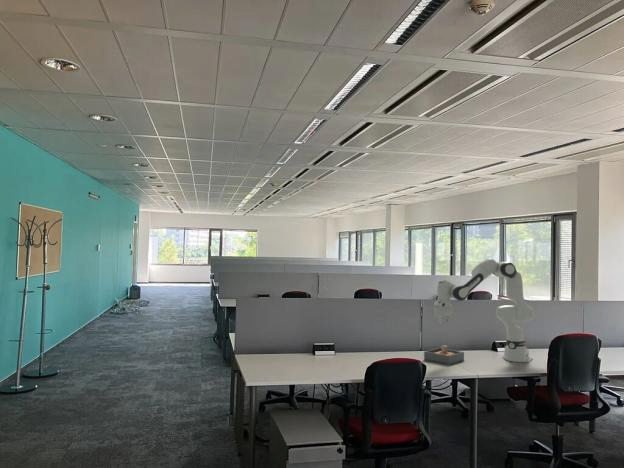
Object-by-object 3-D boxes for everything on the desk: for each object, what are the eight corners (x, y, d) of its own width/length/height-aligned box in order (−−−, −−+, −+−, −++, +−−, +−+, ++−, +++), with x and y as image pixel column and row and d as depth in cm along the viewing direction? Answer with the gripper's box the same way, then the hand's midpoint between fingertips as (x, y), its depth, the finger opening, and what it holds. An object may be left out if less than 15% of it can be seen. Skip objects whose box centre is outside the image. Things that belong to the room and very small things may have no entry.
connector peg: (443, 357, 333) (443, 345, 333) (448, 358, 330) (448, 346, 330) (440, 358, 330) (440, 346, 330) (445, 359, 327) (445, 346, 327)
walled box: (439, 355, 344) (439, 347, 344) (464, 360, 330) (463, 352, 330) (424, 360, 330) (424, 351, 330) (449, 365, 316) (449, 356, 316)
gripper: (447, 301, 341) (447, 320, 341) (432, 303, 327) (432, 323, 327) (455, 302, 336) (455, 321, 336) (440, 304, 322) (440, 324, 322)
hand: (443, 322), depth 331 cm, fingers open, 8 cm apart
